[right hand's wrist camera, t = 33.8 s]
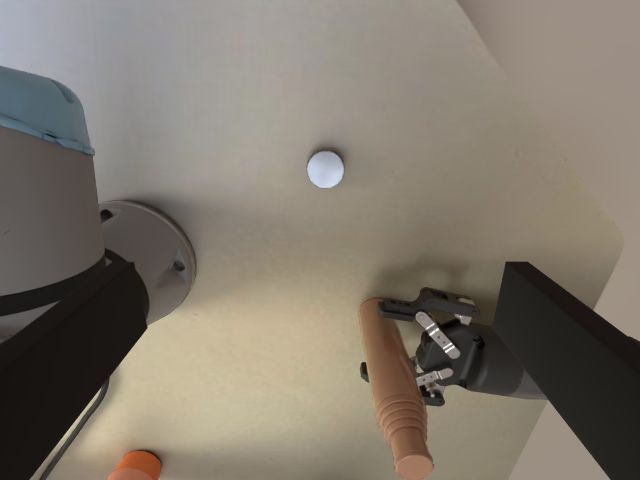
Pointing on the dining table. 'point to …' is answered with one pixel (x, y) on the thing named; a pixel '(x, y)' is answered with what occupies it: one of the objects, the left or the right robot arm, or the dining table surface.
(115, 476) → the cup with straw
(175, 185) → the dining table surface
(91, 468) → the dining table surface
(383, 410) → the bottle
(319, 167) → the cap
